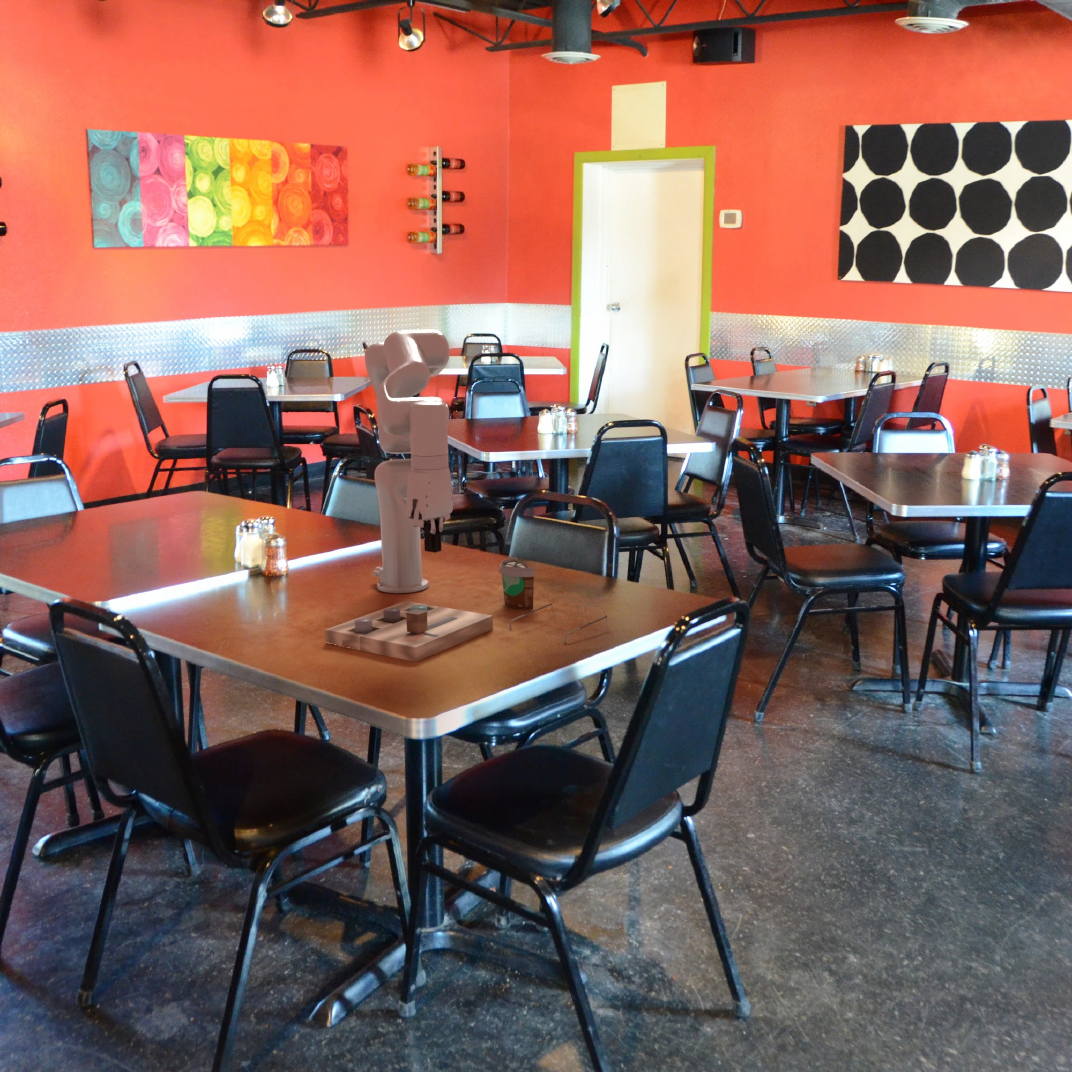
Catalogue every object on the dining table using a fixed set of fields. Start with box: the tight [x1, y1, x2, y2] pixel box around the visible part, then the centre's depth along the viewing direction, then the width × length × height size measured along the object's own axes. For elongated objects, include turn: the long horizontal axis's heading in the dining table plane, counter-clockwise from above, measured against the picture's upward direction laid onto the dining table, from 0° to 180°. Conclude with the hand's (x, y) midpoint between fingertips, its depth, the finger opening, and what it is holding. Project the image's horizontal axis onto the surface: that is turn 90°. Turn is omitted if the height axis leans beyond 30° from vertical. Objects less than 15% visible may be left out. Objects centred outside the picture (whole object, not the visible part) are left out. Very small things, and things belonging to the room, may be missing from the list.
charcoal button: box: [383, 607, 401, 624], centre depth 247 cm, size 4×4×3 cm
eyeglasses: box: [508, 596, 608, 644], centre depth 249 cm, size 16×15×5 cm
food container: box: [498, 556, 536, 611], centre depth 267 cm, size 12×6×10 cm, turn 21°
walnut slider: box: [406, 609, 428, 634], centre depth 237 cm, size 3×3×4 cm
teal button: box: [411, 605, 427, 611], centre depth 255 cm, size 4×4×3 cm
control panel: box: [325, 600, 494, 663], centre depth 245 cm, size 24×26×3 cm
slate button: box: [355, 617, 373, 634], centre depth 240 cm, size 4×4×3 cm
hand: (433, 551), depth 239 cm, fingers closed
